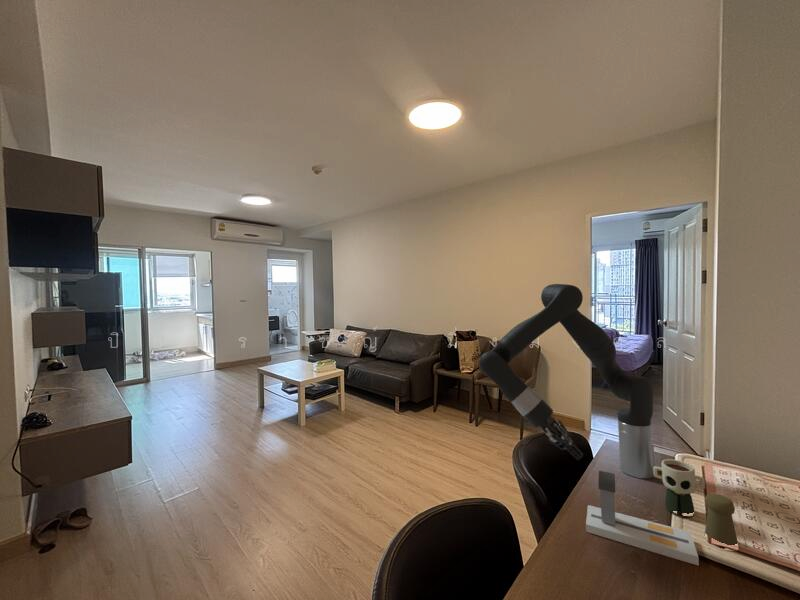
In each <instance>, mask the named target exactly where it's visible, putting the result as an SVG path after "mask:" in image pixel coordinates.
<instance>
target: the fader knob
mask: <svg viewBox="0 0 800 600" xmlns="http://www.w3.org/2000/svg"><path fill="white" fill-rule="evenodd" d="M615 476H616V475H615V473H613V472H608V471H603V470H598V490H599V492H600V508H601V516H602V522H605V523H608V524H612V525H615V512H616V503H615V493H616V477H615ZM615 526H616V525H615Z"/></svg>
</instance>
